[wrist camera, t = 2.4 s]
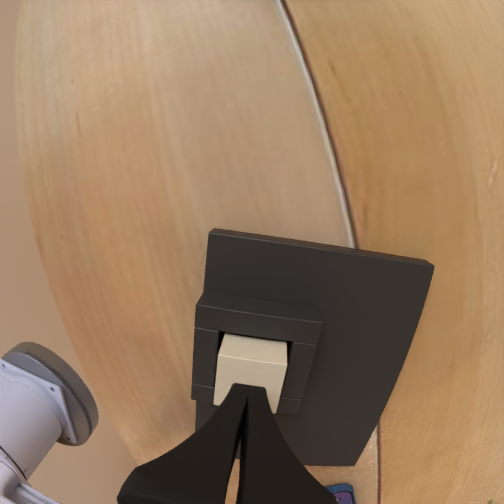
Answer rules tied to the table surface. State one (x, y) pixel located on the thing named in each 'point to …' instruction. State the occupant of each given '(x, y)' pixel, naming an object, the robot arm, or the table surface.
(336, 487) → the smartphone
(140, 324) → the table surface
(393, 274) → the dark button panel
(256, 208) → the table surface
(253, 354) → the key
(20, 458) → the robot arm
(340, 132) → the table surface
